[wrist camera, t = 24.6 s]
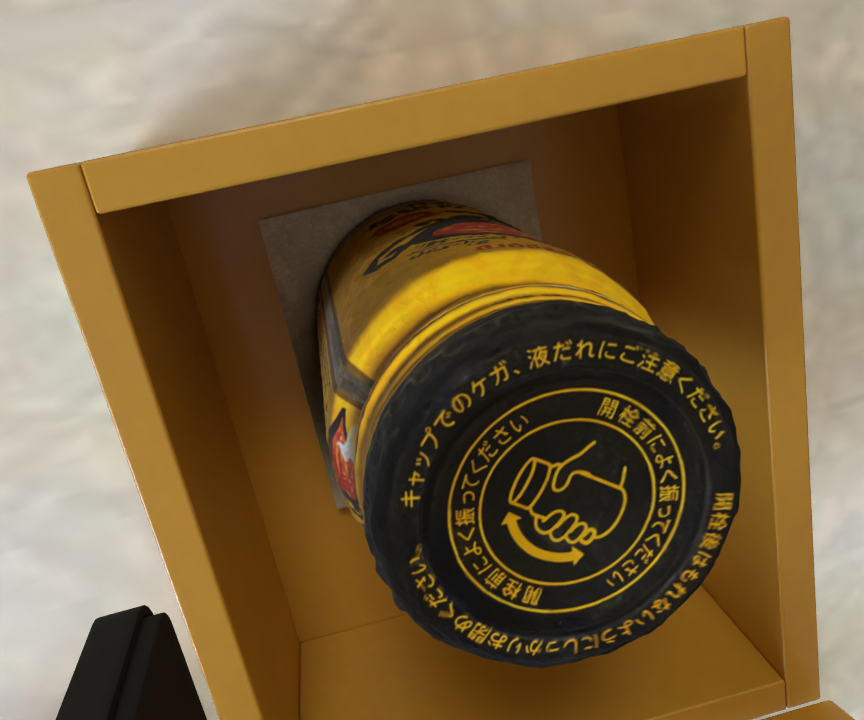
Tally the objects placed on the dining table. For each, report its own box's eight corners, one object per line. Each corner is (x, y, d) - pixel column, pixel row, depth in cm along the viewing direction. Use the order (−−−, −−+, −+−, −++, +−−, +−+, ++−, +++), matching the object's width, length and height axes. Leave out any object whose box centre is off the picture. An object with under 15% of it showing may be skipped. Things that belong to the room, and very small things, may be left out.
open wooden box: (122, 156, 20) (23, 173, 13) (630, 51, 21) (791, 14, 14) (279, 654, 25) (269, 861, 18) (682, 545, 26) (821, 700, 19)
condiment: (527, 158, 21) (802, 197, 9) (573, 442, 23) (829, 743, 12) (257, 219, 20) (197, 341, 9) (336, 504, 23) (368, 884, 11)
